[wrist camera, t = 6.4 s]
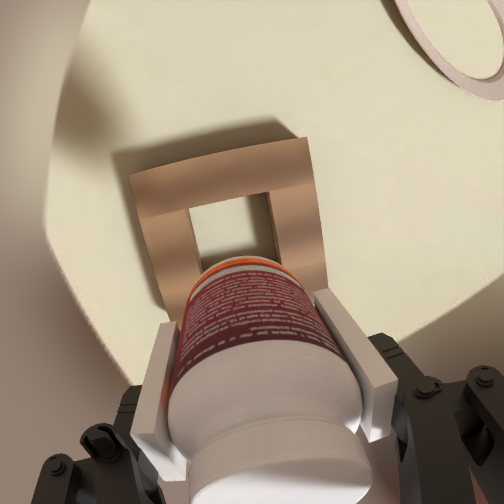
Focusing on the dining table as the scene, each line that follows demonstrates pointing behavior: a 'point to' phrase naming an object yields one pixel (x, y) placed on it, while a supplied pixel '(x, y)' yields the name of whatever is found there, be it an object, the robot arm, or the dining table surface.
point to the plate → (492, 89)
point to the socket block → (223, 188)
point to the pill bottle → (263, 394)
